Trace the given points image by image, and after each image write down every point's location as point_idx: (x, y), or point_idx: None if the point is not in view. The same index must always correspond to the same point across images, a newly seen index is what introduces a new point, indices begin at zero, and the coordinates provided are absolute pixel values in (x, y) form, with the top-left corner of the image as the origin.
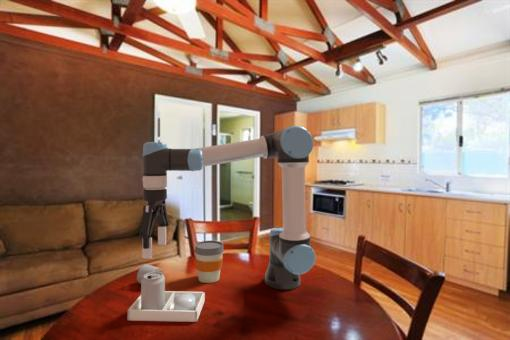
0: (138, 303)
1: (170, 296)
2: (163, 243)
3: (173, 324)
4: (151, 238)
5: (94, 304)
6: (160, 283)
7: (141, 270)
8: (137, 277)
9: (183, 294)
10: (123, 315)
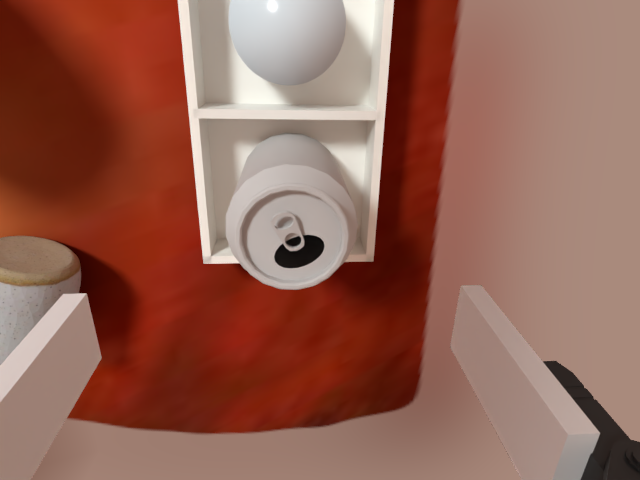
0: None
1: (247, 118)
2: (84, 320)
3: None
4: (575, 423)
5: (250, 393)
6: (328, 173)
7: None
8: None
9: (241, 43)
10: None
